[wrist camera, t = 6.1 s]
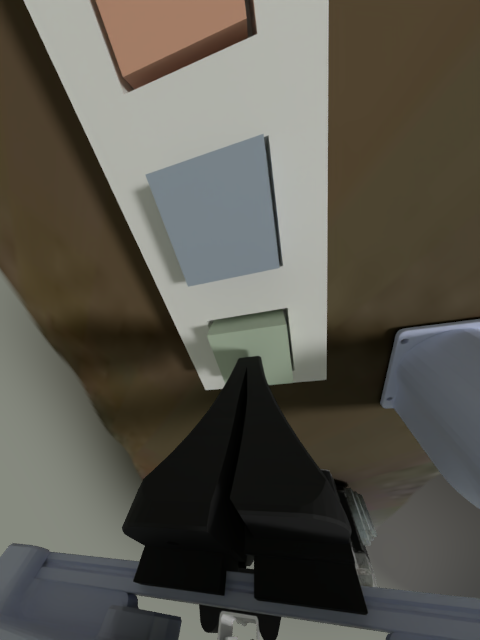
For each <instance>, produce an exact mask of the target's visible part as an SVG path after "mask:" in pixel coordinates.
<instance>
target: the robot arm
mask: <svg viewBox="0 0 480 640" xmlns="http://www.w3.org/2000/svg"><path fill="white" fill-rule="evenodd" d="M403 339H404V340H403ZM402 340H403V341H402ZM380 404H381V406H382V407H383V408H394V409H395V410H396V412H397V413H398V415H399V416H400V417H401V419H402V420H403V422H404V423H405V424H406V426H407V427H408V429H409V430H410V431H411V433H412V434H413V436H414V437H415V438H416V440H417V441H418V442H419V444H420V445H421V447H422V448H423V449H424V451H425V452H426V454H427V455H428V456H429V458H430V459H431V461H432V462H433V463H434V465H435V466H436V468H437V469H438V470H439V472H440V473H441V474H442V476H443V477H444V478H445V479H446V480H447V482H448V483H449V484H450V485H451V486H452V487H453V488H454V489H455V490H456V491H458V493H460V494H461V495H462V496H463V497H464V498H466V499H467V500H468V501H469V502H471V503H472V504H473V505H475V506H476V507H477V508H479V509H480V319H475V320H467V321H459V322H451V323H443V324H435V325H427V326H419V327H412V328H404V329H401V330H399V331H398V332H397V333H396V335H395V340H394V344H393V349H392V353H391V357H390V362H389V366H388V371H387V375H386V380H385V384H384V388H383V393H382V397H381V402H380ZM122 530H123V532H124V534H126V535H127V536H129V537H130V538H132V539H134V540H136V541H138V542H139V543H141V544H143V545H145V547H144V550H143V553H142V556H141V559H140V561H130V560H120V559H111V558H103V557H93V556H84V555H75V554H66V553H57V552H49V550H48V549H45V548H42V547H38V546H33V545H25V544H15V543H13V544H11V545H9V546H8V548H7V549H6V550H5V552H4V553H3V554H2V556H1V557H0V640H178V637H179V632H180V627H181V617H177V616H172V615H167V614H162V613H157V612H152V611H146V610H140V609H139V608H138V599H137V596H136V595H139V596H146V597H153V598H159V599H166V600H173V601H179V602H186V603H193V604H200V605H206V606H213V607H220V608H226V609H233V610H240V611H246V612H253V613H260V614H267V615H273V616H280V617H287V618H294V619H300V620H307V621H313V622H320V623H327V624H334V625H340V626H347V627H354V628H360V629H367V630H374V631H381V632H387V633H390V634H388V635H387V637H386V640H480V599H478V598H470V597H460V596H452V595H442V594H433V593H424V592H415V591H406V590H396V589H387V588H378V587H369V586H361V585H360V582H359V578H358V575H357V571H356V568H355V559H354V556H353V552H352V549H351V545H350V542H349V541H350V536H351V532H352V531H351V526H350V523H349V521H348V518H347V516H346V513H345V511H344V509H343V507H342V505H341V503H340V501H339V500H338V498H337V496H336V494H335V492H334V491H333V489H332V487H331V485H330V483H329V481H328V480H327V478H326V476H325V475H324V474H323V472H322V471H321V470H320V468H319V467H318V466H317V464H316V463H315V462H314V460H313V459H312V457H311V456H310V455H309V453H308V452H307V450H306V449H305V448H304V446H303V445H302V443H301V442H300V440H299V439H298V437H297V436H296V434H295V433H294V431H293V429H292V428H291V426H290V425H289V423H288V422H287V420H286V418H285V417H284V415H283V413H282V411H281V410H280V408H279V406H278V404H277V402H276V400H275V398H274V396H273V394H272V392H271V390H270V387H269V385H268V383H267V380H266V377H265V373H264V368H263V364H262V359H261V357H260V356H252V357H244V358H239V359H238V360H237V363H236V365H235V367H234V369H233V371H232V373H231V375H230V377H229V378H228V380H227V382H226V384H225V386H224V387H223V389H222V390H221V392H220V394H219V395H218V397H217V398H216V400H215V401H214V403H213V404H212V406H211V407H210V409H209V410H208V411H207V413H206V414H205V415H204V417H203V418H202V419H201V420H200V422H199V423H198V424H197V425H196V427H195V428H194V429H193V430H192V431H191V432H190V434H189V435H188V436H187V437H186V438H185V439H184V440H183V441H182V442H181V443H180V444H179V445H178V446H177V448H176V449H175V450H174V451H173V452H172V453H171V454H170V455H169V456H168V457H167V458H166V459H165V460H164V461H162V462H161V463H160V464H159V465H158V466H157V467H156V468H155V469H154V470H153V471H152V472H151V473H150V474H149V475H147V476H146V477H145V478H144V479H143V481H142V483H141V486H140V487H139V489H138V492H137V494H136V496H135V499H134V501H133V503H132V506H131V508H130V510H129V513H128V515H127V517H126V520H125V522H124V524H123V527H122ZM253 561H254V574H250V573H241V572H238V568H241V569H246V566H250V565H251V564H252V562H253Z"/></svg>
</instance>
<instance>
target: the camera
mask: <svg viewBox="0 0 480 640" xmlns="http://www.w3.org/2000/svg"><path fill="white" fill-rule="evenodd" d="M320 470H321V471H322V472H323V474H324V475H325V476H326V478H327V480H328V481H329V483H330V485H331V487H332V489H333V491H334V492H335V494H336V496H337V498H338V500H339V501H340V503H341V505H342V507H343V509H344V511H345V513H346V516H347V518H348V521H349V523H350V526H351V531H352V532H351V536H350V541H349V542H350V545H351V549H352V552H353V556H354V559H355V568H356V571H357V575H358V578H359V582H360V585H361V586H369V587H377V582H376V578H375V575H374V572H373V569H372V566H371V563H370V560H369V557H368V554H367V551H366V547H365V545H371V543H370V540H374V538H373V537H376V536H377V534H376V531H375V529H374V526H373V523H372V521H371V518H370V515H369V513H368V510H367V507H366V505H365V502H364V499H363V497H362V495H360V494H357V492H356V491H355V492H353V491H352V489H351V488H345V487H344V486H340V485H336V484H335V481H334V479H333V477H332V475H331V473H330V472H329V470H323V469H320Z"/></svg>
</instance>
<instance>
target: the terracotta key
mask: <svg viewBox="0 0 480 640" xmlns="http://www.w3.org/2000/svg"><path fill="white" fill-rule="evenodd" d="M96 3H97V6H98V8H99V11H100V14H101V17H102V20H103V23H104V25H105V28H106V31H107V34H108V37H109V39H110V42H111V45H112V48H113V51H114V53H115V56H116V59H117V62H118V65H119V68H120V70H121V73H122V76H123V78H124V79H125V80H126V81H127V82H128V83H129V84H130V85H131V86H132V87H133V88H134V89H137V88H139V87H142V86H144V85H146V84H148V83H150V82H153V81H155V80H157V79H159V78H161V77H164V76H166V75H168V74H170V73H172V72H175V71H177V70H179V69H181V68H183V67H186V66H188V65H190V64H192V63H194V62H197V61H199V60H201V59H203V58H205V57H208V56H210V55H212V54H214V53H216V52H219V51H221V50H223V49H225V48H227V47H230V46H232V45H234V44H236V43H238V42H241V41H243V40H245V39H247V38H248V32H247V16H246V8H245V0H96Z"/></svg>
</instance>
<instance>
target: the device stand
mask: <svg viewBox="0 0 480 640" xmlns="http://www.w3.org/2000/svg"><path fill="white" fill-rule="evenodd" d="M238 572H241V573H250V574H254V569H241V568H238ZM199 608H200V621H201V625H202V628H203V629H204V631H205V632H208V633H218V638H217V640H238V637H237V636H232V629H233V622H234V620H236V621H237V623H238V624H239V623H240V624H242V625H243V626H246V625H247V623H255V624H257V640H260V633H261V636H262V637H263V639H264V640H276V638H277V635H278V631H279V626H280V620H281V617H280V616H273V615H267V614H260V613H253V612H246V611H240V610H233V609H226V608H220V607H213V606H206V605H200V604H199ZM252 640H254V639H252Z"/></svg>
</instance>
